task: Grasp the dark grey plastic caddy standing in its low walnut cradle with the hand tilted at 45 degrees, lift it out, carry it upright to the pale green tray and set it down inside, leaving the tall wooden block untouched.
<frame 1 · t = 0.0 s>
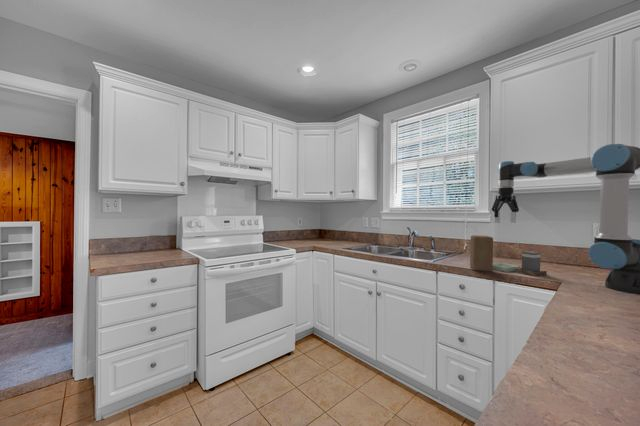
hand: (505, 222, 169), 28 cm above the counter, tool pointing down, fingers open, 13 cm apart
wooden block: (480, 269, 166), on the counter
tray: (502, 269, 168), on the counter
caddy: (530, 262, 158), in the cradle
cradle: (530, 273, 158), on the counter
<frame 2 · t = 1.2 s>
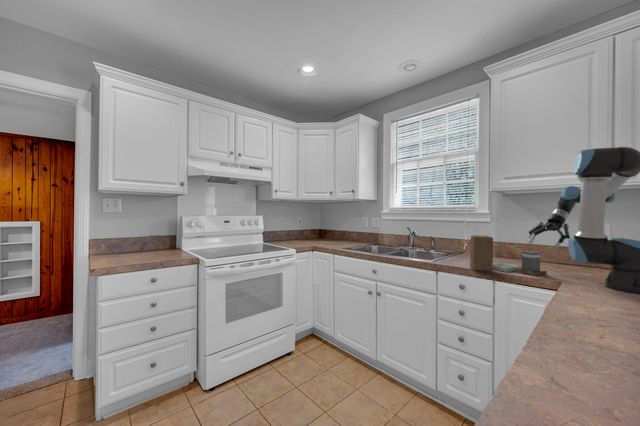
hand: (542, 244, 161), 16 cm above the counter, tool tilted 45°, fingers open, 13 cm apart
nothing on the counter moved.
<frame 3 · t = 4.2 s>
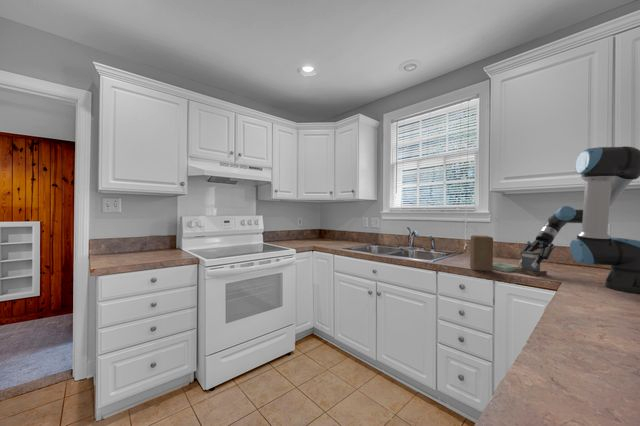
hand: (526, 265, 157), 4 cm above the counter, tool tilted 45°, fingers closed on caddy, 6 cm apart
caddy: (531, 262, 158), in the cradle, touching gripper
everything else where it was.
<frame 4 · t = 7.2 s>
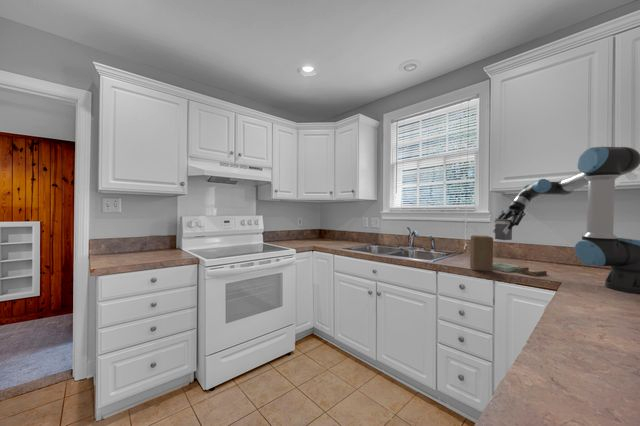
hand: (499, 232, 167), 22 cm above the counter, tool tilted 45°, fingers closed on caddy, 6 cm apart
caddy: (503, 229, 168), point 24 cm above the counter, touching gripper
everything else where it was.
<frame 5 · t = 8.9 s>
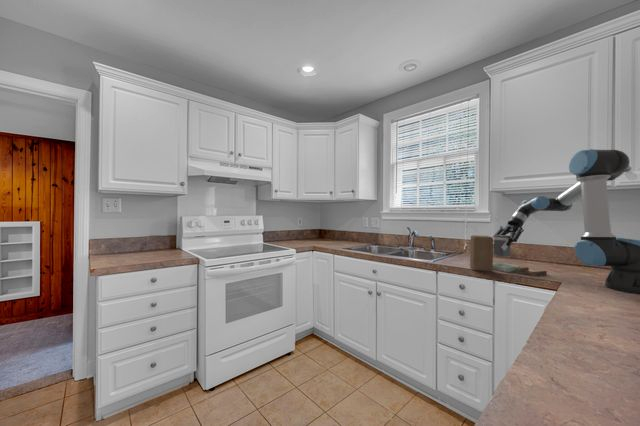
hand: (497, 248, 168), 13 cm above the counter, tool tilted 45°, fingers closed on caddy, 6 cm apart
caddy: (502, 245, 169), point 14 cm above the counter, touching gripper
everything else where it was.
when the fingers open (6 cm above the counter, at t = 10.5 s): caddy drops 1 cm, resting on tray.
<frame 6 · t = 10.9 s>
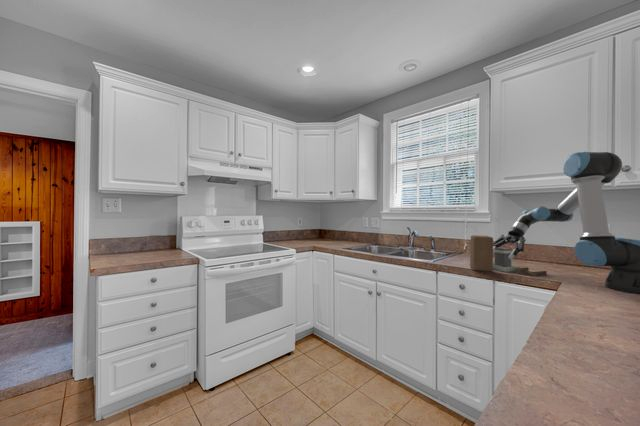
hand: (499, 257, 167), 7 cm above the counter, tool tilted 45°, fingers open, 12 cm apart
caddy: (502, 258, 168), in the tray, point 7 cm above the counter
everything else where it was.
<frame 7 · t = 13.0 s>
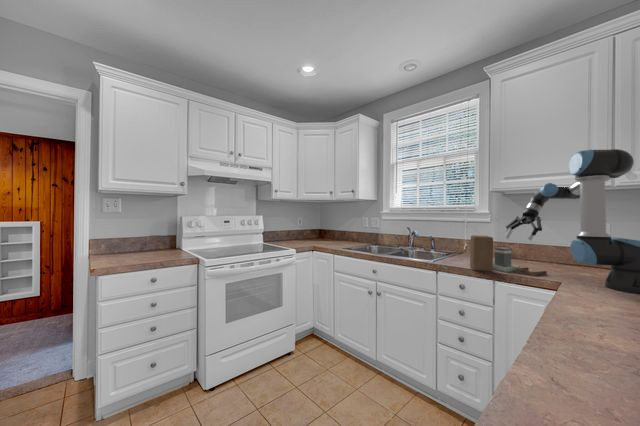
hand: (517, 238, 170), 18 cm above the counter, tool tilted 40°, fingers open, 13 cm apart
nothing on the counter moved.
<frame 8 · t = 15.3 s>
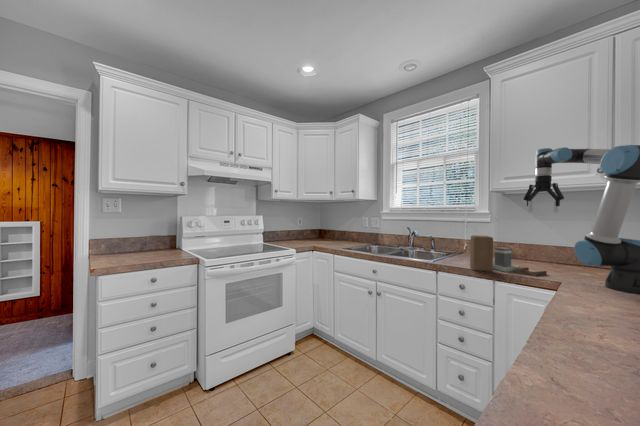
hand: (542, 212, 163), 35 cm above the counter, tool pointing down, fingers open, 13 cm apart
nothing on the counter moved.
at the end: caddy inside the target area on the tray (0.1 cm from its centre), point 6.6 cm above the tray's base; caddy tilted 0°; the gripper is holding nothing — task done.
